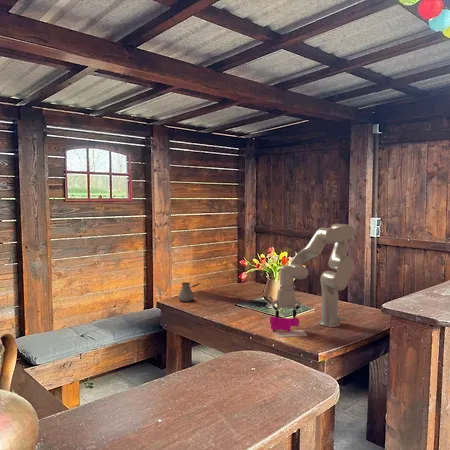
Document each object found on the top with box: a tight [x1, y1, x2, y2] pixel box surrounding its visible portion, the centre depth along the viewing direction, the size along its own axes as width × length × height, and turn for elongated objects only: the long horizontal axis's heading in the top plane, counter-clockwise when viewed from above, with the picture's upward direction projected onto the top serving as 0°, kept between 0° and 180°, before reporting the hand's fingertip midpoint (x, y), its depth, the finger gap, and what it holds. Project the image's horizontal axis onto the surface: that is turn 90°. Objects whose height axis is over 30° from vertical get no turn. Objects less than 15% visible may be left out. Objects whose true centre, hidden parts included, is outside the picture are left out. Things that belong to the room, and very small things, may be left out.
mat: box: [274, 329, 308, 338], centre depth 221 cm, size 16×9×1 cm, turn 97°
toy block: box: [269, 316, 300, 331], centre depth 223 cm, size 15×6×8 cm
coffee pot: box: [178, 281, 201, 303], centre depth 289 cm, size 21×12×15 cm, turn 45°
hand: (285, 317), depth 227 cm, fingers open, 9 cm apart
